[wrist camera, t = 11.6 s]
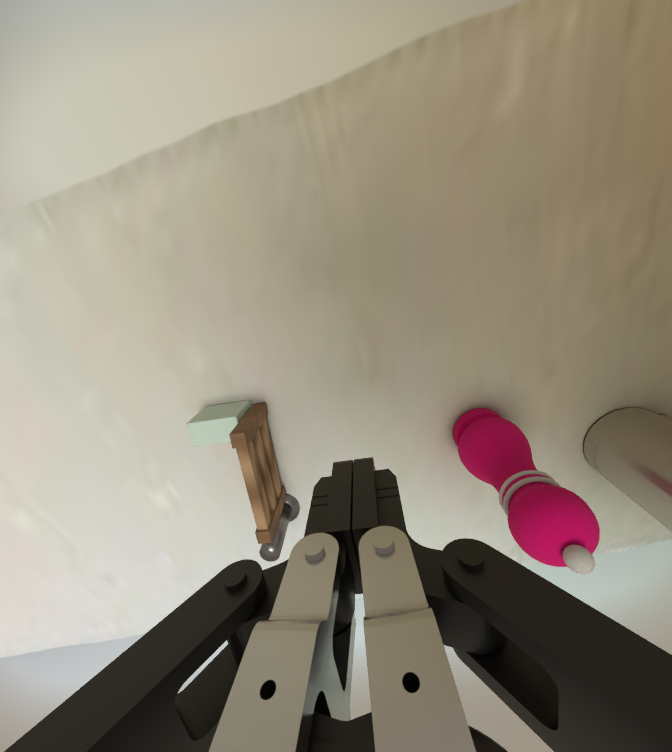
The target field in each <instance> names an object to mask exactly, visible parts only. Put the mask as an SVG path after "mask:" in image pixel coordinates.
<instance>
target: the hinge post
mask: <svg viewBox="0 0 672 752" xmlns="http://www.w3.org/2000/svg"><path fill="white" fill-rule="evenodd" d="M299 510H300V506H299V503H298V501H297V500H296V499H295V498H294V497H293V496H291V495H288V494H286V499H285V503H284V506H283V509H282V512H281V515H280V518H279V522H278V525H277V528H276V531H275V534H274V537H273V541H272V543H262V546H261V549H260V556H261V557H262V558H263V559H264V560H266V561H275V560H277V559H278V558H279V556H280V553H281V549H282V545H283V542H284V538H285V534H286V531H287V527H288V523H289V522H290V521H292V520H294V519H295V518H296V517H297V516H298V514H299Z"/></svg>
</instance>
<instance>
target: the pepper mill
mask: <svg viewBox="0 0 672 752" xmlns="http://www.w3.org/2000/svg"><path fill="white" fill-rule="evenodd" d="M453 437H454V440H455V443H456V444H457V446H458V452H459V457H460V459H461V461H462V463H463V464H464V466H465V467H466V468H467V470H468V471H469V472H470V473H471V474H473V475H474V476H475V477H477V478H478V479H480V480H482V481H484V482H486V483H489V484H491V485H493V486H494V487H495V489H496V490H497V491H498V492H499V502H500V505H501V507H502V508H503V510H504V511H505V513H506V515H507V516H508V524H509V529H510V531H511V534H512V536H513V538H514V539H515V541H516V542H517V543H518V545H519V546H520V547H521V548H522V550H524V551H525V552H526V553H527V554H528V555H529V556H531V557H532V558H534V559H536V560H537V561H539V562H542V563H544V564H547V565H551V566H557V567H568V568H570V569H571V570H572V571H574V572H576V573H579V574H589V573H590V572H592V570H593V569H594V567H595V561H594V558H593V556H592V553H593V552H594V551H595V549H596V547H597V545H598V542H599V532H600V529H599V525H598V522H597V519H596V517H595V515H594V513H593V512H592V510H591V509H590V508H589V506H588V505H587V504H586V503H585V501H584V500H582V499H581V498H580V497H579V496H577V495H576V494H575V493H573V492H571V491H569V490H567V489H565V488H562V487H561V486H560V485H559V484H558V483H556V482H555V480H554V479H553V478H552V477H551V476H549V475H548V474H546V473H544V472H541V471H538V470H537V469H536V468H535V466H534V463H533V460H532V454H531V448H530V445H529V443H528V440H527V439H526V437H525V435H524V434H523V433H522V431H521V430H520V429H519V428H518V427H517V426H516V425H515V424H513V423H512V422H510V421H508V420H505V419H502V418H501V417H500V416H499V415H498V414H497V413H496V412H494V411H492V410H489V409H484V408H478V409H473V410H470V411H468V412H466V413H464V414H463V415H462V416H461V417H460V418H459V419H458V420H457V422H456V423H455V425H454V429H453Z"/></svg>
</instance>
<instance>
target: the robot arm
mask: <svg viewBox="0 0 672 752" xmlns="http://www.w3.org/2000/svg"><path fill="white" fill-rule="evenodd" d="M584 455H585V458H586V460H587V461H588V463H589V464H590V465H591V466H592V467H593V468H594V469H595V470H597V471H598V472H599V473H600V474H601V475H603V476H604V477H605V478H606V479H608V480H609V481H610V482H611V483H612V484H614V485H615V486H616V487H617V488H618V489H619V490H621V491H622V492H623V493H624V494H626V495H627V496H628V497H629V498H631V499H632V500H633V501H634V502H635V503H637V504H638V505H639V506H640V507H642V508H643V509H644V510H645V511H646V512H648V513H649V514H650V515H651V516H653V517H654V518H655V519H656V520H658V521H659V522H660V523H661V524H662V525H664V526H665V527H666V528H667V529H669V530H670V531H671V532H672V417H671V416H668V415H666V414H665V415H657V414H655V413H653V412H651V411H649V410H645V409H642V408H624V409H620V410H616V411H613V412H611V413H609V414H607V415H605V416H604V417H603V418H601V419H600V420H598V421H597V422H596V423H595V424H594V425H593V426H592V428H591V429H590V431H589V432H588V434H587V436H586V438H585V442H584ZM361 593H363V597H364V606H365V617H364V633H365V644H366V655H367V666H368V676H369V687H370V697H371V698H370V699H371V709H372V712H370V713H368V714H366V715H363V716H361V717H358V718H355V719H353V720H351V718H350V692H351V679H352V678H351V677H352V664H353V651H354V639H355V625H356V620H355V614H354V610H355V594H361ZM226 640H227V641H228V645H227V646H226V647H225V648H224V649H223V650H222V651H221V652H220V653H219V654H218V655H217V656H216V657H215V658H214V659H213V660H212V662H210V663H209V664H208V665H207V667H206V668H205V669H204V670H203V671H202V672H201V673H200V674H199V675H198V676H197V677H196V678H195V679H194V680H193V681H192V682H191V683H190V684H189V685H188V686H187V687H186V688H185V689H184V690H183V691H181V692H180V693H178V691H179V689H180V688H181V686H182V685H183V684H184V682H185V681H186V680H187V679H188V678H189V677H190V676H191V675H192V674H193V673H194V672H195V671H196V670H197V669H198V668H199V667H200V666H201V665H202V664H203V663H204V662H205V661H206V660H207V659H208V658H209V657H210V656H211V655H212V654H213V653H214V652H215V651H216V650H217V649H218V648H219V647H220V646H221V645H222V644H223V643H224V642H225V641H226ZM444 645H446V646H450V647H453V649H454V651H455V652H456V654H457V655H458V657H459V658H460V659H461V660H462V661H463V662H464V663H465V664H466V665H467V666H468V667H469V668H470V669H471V670H472V671H473V672H474V673H475V674H476V675H477V676H478V677H479V678H480V679H481V680H482V681H483V682H484V683H485V684H486V685H487V686H488V687H489V688H490V689H491V690H492V691H493V692H494V693H495V694H496V695H497V696H498V697H499V698H500V699H501V700H502V701H503V702H504V703H505V704H506V705H507V706H509V708H510V709H511V710H513V712H514V713H516V714H517V715H518V716H519V717H520V718H521V719H522V720H523V721H524V722H525V723H526V724H527V725H528V726H529V727H530V728H531V729H532V730H533V731H534V732H535V733H536V734H537V735H538V736H539V737H540V738H541V739H542V740H543V741H544V742H545V743H546V744H547V745H548V746H549V747H550V748H551V749H552V750H553V751H554V752H672V655H671V654H669V653H667V652H666V651H664V650H662V649H661V648H659V647H657V646H656V645H654V644H652V643H650V642H649V641H647V640H646V639H644V638H642V637H640V636H639V635H637V634H635V633H634V632H632V631H630V630H629V629H627V628H626V627H624V626H622V625H621V624H619V623H617V622H615V621H614V620H612V619H611V618H609V617H607V616H606V615H604V614H602V613H601V612H599V611H597V610H595V609H594V608H592V607H591V606H589V605H587V604H586V603H584V602H582V601H581V600H579V599H577V598H575V597H574V596H572V595H571V594H569V593H567V592H566V591H564V590H562V589H560V588H559V587H557V586H555V585H554V584H552V583H551V582H549V581H547V580H546V579H544V578H542V577H540V576H539V575H537V574H535V573H534V572H532V571H531V570H529V569H527V568H526V567H524V566H522V565H521V564H519V563H517V562H516V561H514V560H512V559H511V558H509V557H507V556H506V555H504V554H502V553H501V552H499V551H497V550H496V549H494V548H492V547H491V546H489V545H487V544H485V543H483V542H481V541H478V540H474V539H458V540H454V541H452V542H450V543H449V544H447V545H446V546H445V548H444V549H443V551H441V550H435V549H430V548H426V547H424V546H421V545H419V544H418V543H416V542H415V541H414V540H413V539H412V538H411V537H410V536H409V535H408V533H407V530H406V526H405V521H404V516H403V511H402V505H401V500H400V495H399V490H398V485H397V480H396V476H395V475H394V474H393V473H392V472H391V471H390V470H389V469H384V470H376V471H375V466H374V461H373V457H371V458H363V459H355V460H354V463H353V460H348V461H341V462H334V463H333V469H332V476H330V477H322V478H321V479H320V480H319V481H318V483H317V484H316V485H315V487H314V491H313V496H312V500H311V507H310V510H309V515H308V520H307V525H306V530H305V535H304V538H302V539H301V540H300V541H299V542H298V543H297V544H296V545H295V546H294V548H293V549H292V552H291V554H290V557H289V559H288V560H286V561H285V562H283V563H280V564H278V565H276V566H273V567H270V568H268V569H265V570H263V571H262V568H261V566H260V565H259V564H258V563H257V562H256V561H253V560H240V561H237V562H235V563H232V564H231V565H229V566H227V567H226V568H225V569H223V570H222V571H221V572H220V573H218V574H217V575H216V576H215V577H214V578H212V579H211V580H210V581H209V582H208V583H206V584H205V585H204V586H203V587H202V588H200V589H199V590H198V591H197V592H196V593H194V594H193V595H192V596H191V597H190V598H188V599H187V600H186V601H185V602H184V603H182V604H181V605H180V606H179V607H178V608H176V609H175V610H174V611H173V612H171V613H170V614H169V615H168V616H167V617H165V618H164V619H163V620H162V621H161V622H159V623H158V624H157V625H156V626H155V627H153V628H152V629H151V630H150V631H149V632H147V633H146V634H145V635H144V636H143V637H142V638H140V639H139V640H138V641H137V642H135V644H133V645H132V646H131V647H130V648H128V649H127V650H126V651H125V652H123V653H122V654H121V655H120V656H119V657H117V658H116V659H115V660H114V661H113V662H111V663H110V664H109V665H108V666H107V667H105V668H104V669H103V670H102V671H101V672H99V673H98V674H97V675H96V676H95V677H93V678H92V679H91V680H90V681H88V682H87V683H86V684H85V685H84V686H83V687H81V688H80V689H79V690H78V691H76V692H75V693H74V694H73V695H72V696H71V697H69V698H68V699H67V700H66V701H65V702H63V703H62V704H61V705H60V706H58V707H57V708H56V709H55V710H54V711H52V712H51V713H50V714H49V715H48V716H46V717H45V718H44V719H43V720H42V721H40V722H39V723H38V724H37V725H36V726H34V727H33V728H32V729H31V730H30V731H28V732H27V733H26V734H25V735H24V736H23V737H21V738H20V739H19V740H18V741H16V742H15V743H14V744H13V745H12V746H10V747H9V748H8V749H7V750H6V751H4V752H507V751H506V750H505V749H504V748H503V747H501V746H500V745H499V744H497V743H496V742H495V741H494V740H492V739H491V738H490V737H488V736H486V735H484V734H483V733H481V732H480V731H478V730H476V729H474V728H472V727H470V726H468V724H467V720H466V718H465V714H464V711H463V707H462V704H461V701H460V697H459V694H458V691H457V688H456V684H455V681H454V678H453V675H452V671H451V668H450V665H449V662H448V658H447V655H446V652H445V649H444ZM177 693H178V694H177Z"/></svg>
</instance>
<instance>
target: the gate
mask: <svg viewBox="0 0 672 752" xmlns="http://www.w3.org/2000/svg"><path fill="white" fill-rule="evenodd" d="M267 415H268V413H267V409H266V404H265V403H262V404H254V405H252V406H251V408H250V409H249V410H248V411H247V413H246V414H245V415H244V416H243V418H242V419H241V420H240V421H239V423H238V424H237V425H236V426H235V428H234V429H233V430H232V431H231V433H230V434H229V436H230V440H231V444H232V448H236V450H237V454H238V458H239V461H240V465H241V469H242V473H243V477H244V480H245V484H246V488H247V492H248V495H249V499H250V503H251V507H252V510H253V514H254V518H255V522H256V526H257V529H256V532H255V533H256V537H257V541H258V544H262V543H272V541H273V537H274V534H275V531H276V528H277V525H278V522H279V518H280V515H281V512H282V509H283V506H284V503H285V499H286V493H285V489H284V487H281V483H280V479H279V475H278V470H277V466H276V461H275V457H274V453H273V448H272V444H271V440H270V435H269V431H268V426H267V422H266V417H267Z"/></svg>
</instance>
